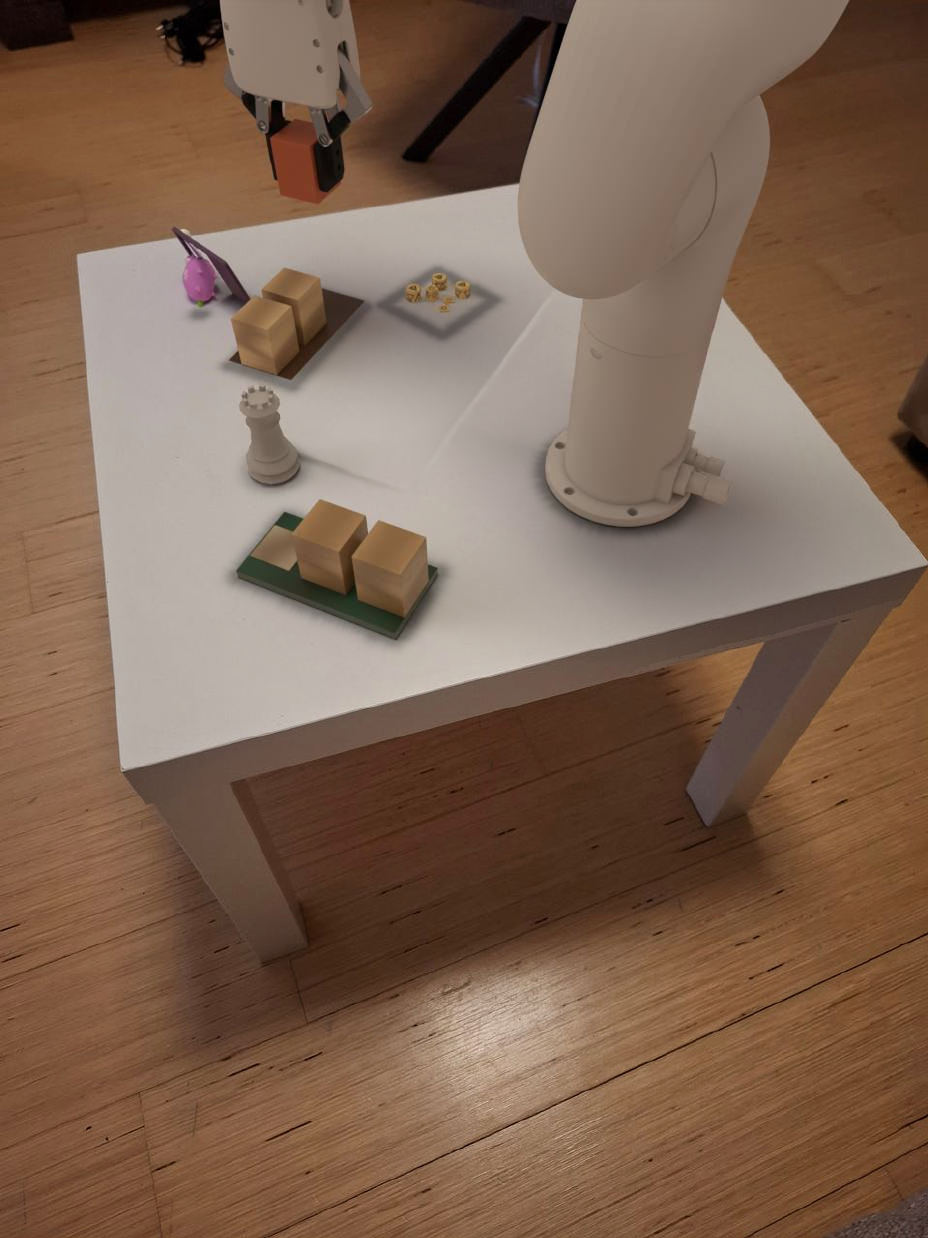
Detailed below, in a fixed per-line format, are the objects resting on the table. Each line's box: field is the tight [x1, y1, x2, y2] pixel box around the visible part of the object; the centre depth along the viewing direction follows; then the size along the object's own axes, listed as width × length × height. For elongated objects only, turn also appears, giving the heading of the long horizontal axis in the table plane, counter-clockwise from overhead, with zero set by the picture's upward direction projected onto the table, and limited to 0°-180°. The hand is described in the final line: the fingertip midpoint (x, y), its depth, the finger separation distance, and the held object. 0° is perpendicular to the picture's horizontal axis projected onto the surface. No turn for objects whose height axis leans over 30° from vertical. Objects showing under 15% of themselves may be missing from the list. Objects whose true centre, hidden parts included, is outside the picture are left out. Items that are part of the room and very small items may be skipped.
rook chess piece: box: [238, 383, 301, 486], centre depth 75 cm, size 4×4×8 cm
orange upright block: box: [270, 118, 342, 205], centre depth 80 cm, size 4×4×5 cm
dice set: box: [405, 272, 471, 314], centre depth 92 cm, size 5×5×2 cm
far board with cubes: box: [228, 267, 365, 381], centre depth 87 cm, size 7×14×6 cm, turn 154°
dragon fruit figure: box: [171, 226, 252, 309], centre depth 91 cm, size 7×5×9 cm
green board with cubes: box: [235, 498, 439, 640], centre depth 69 cm, size 14×7×6 cm, turn 64°
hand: (309, 177), depth 81 cm, fingers closed on orange upright block, 4 cm apart
